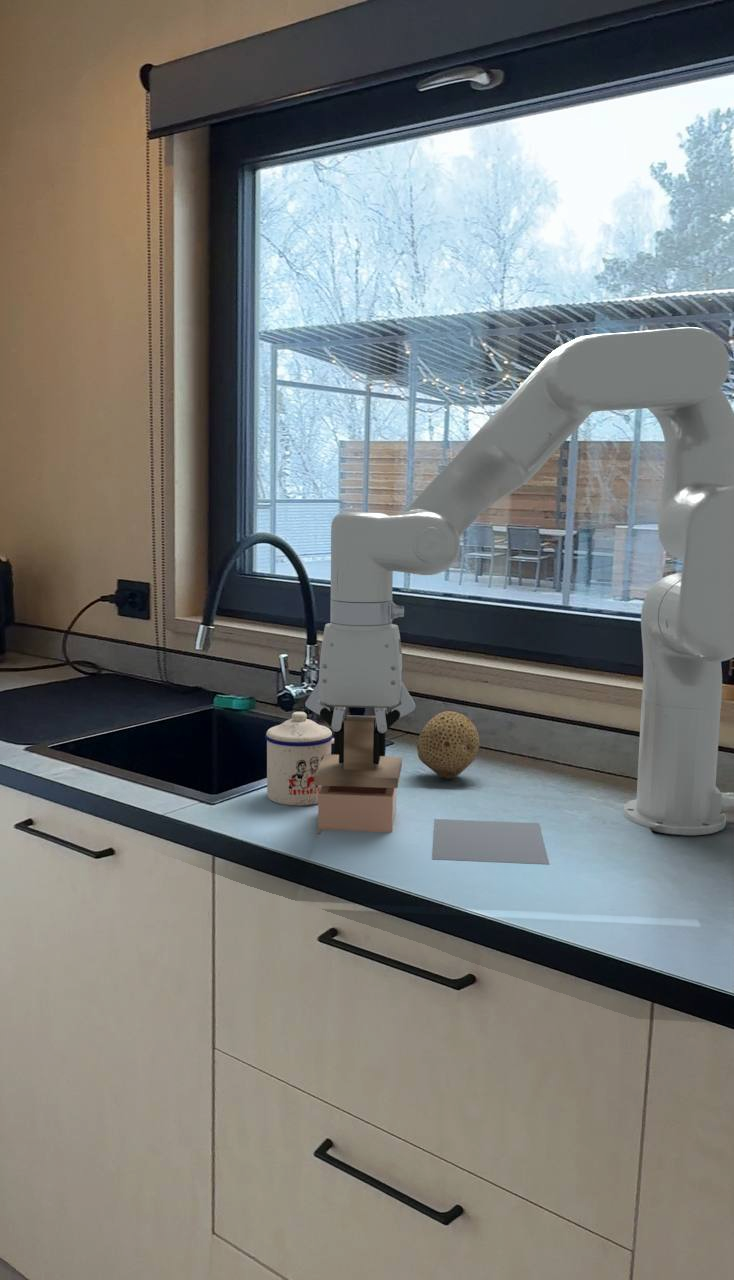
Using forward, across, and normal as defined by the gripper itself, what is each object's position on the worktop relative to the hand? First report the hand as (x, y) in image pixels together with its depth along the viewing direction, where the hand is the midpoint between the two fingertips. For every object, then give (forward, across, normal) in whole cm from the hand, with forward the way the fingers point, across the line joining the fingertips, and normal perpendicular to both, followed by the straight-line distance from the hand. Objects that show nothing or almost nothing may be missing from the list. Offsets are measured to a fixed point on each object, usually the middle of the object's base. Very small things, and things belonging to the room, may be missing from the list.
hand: (359, 759), depth 127 cm
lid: (+2, 0, 0) cm, 2 cm away
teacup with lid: (+8, +8, -11) cm, 16 cm away
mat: (+8, -16, +6) cm, 19 cm away
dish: (+8, 0, 0) cm, 8 cm away
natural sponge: (+8, -11, -21) cm, 25 cm away
